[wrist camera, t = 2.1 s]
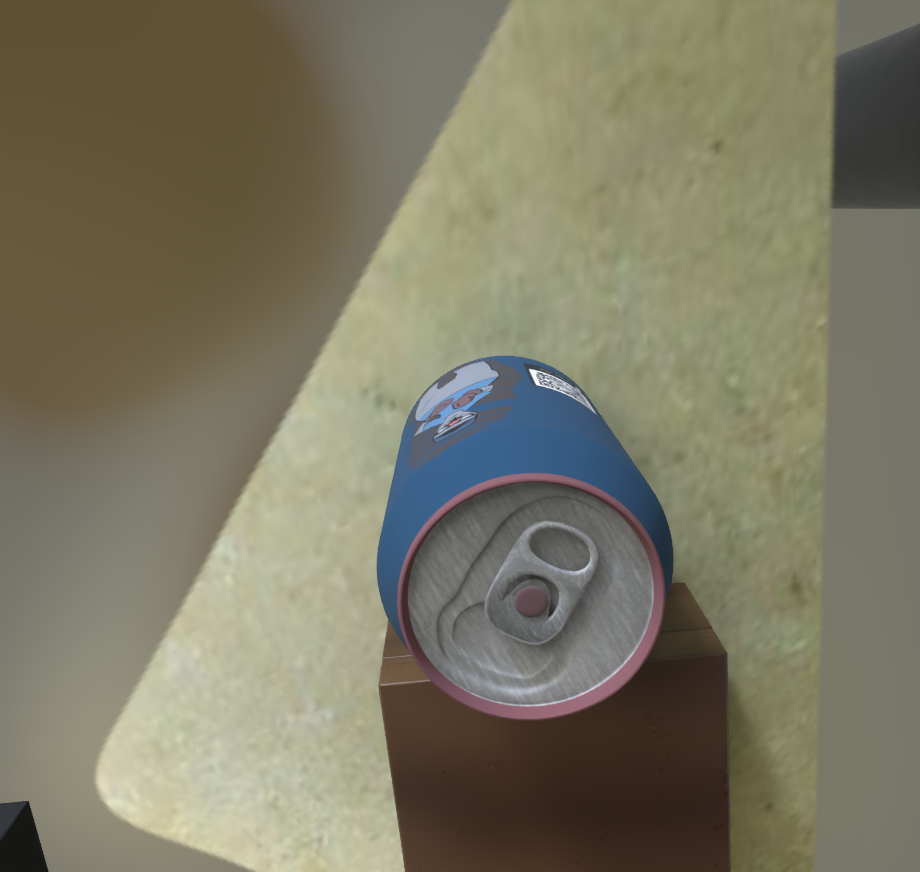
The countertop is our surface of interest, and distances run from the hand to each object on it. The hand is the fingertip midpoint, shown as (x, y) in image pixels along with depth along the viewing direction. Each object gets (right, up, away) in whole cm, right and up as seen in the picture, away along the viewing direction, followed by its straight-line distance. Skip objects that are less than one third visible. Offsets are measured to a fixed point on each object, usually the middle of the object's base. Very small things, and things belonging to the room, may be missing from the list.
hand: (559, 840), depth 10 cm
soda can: (0, +5, +19) cm, 19 cm away
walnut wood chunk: (+2, -5, +21) cm, 22 cm away
